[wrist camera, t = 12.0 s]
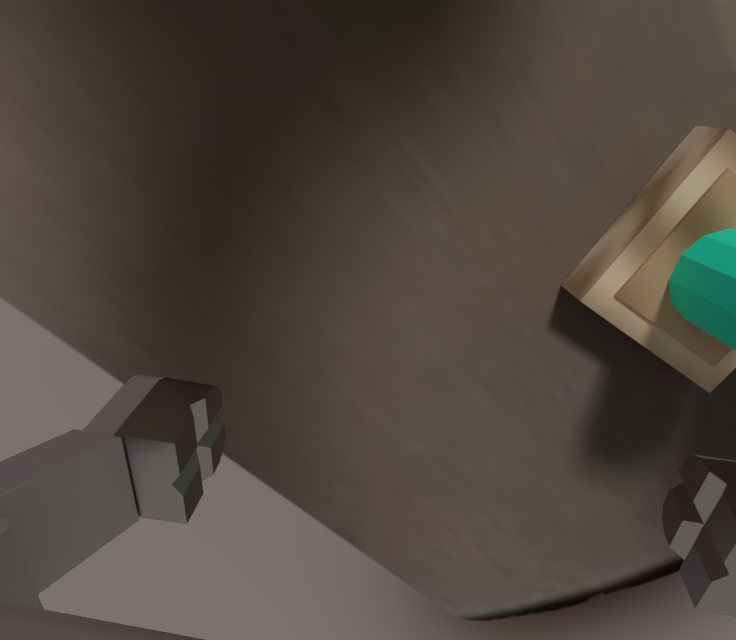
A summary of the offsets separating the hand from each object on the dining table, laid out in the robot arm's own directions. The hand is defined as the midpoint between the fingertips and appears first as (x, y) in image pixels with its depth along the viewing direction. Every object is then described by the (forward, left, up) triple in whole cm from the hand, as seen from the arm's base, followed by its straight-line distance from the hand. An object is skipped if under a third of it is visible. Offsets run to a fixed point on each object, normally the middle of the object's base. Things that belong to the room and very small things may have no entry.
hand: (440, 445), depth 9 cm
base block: (-9, +20, -25) cm, 33 cm away
